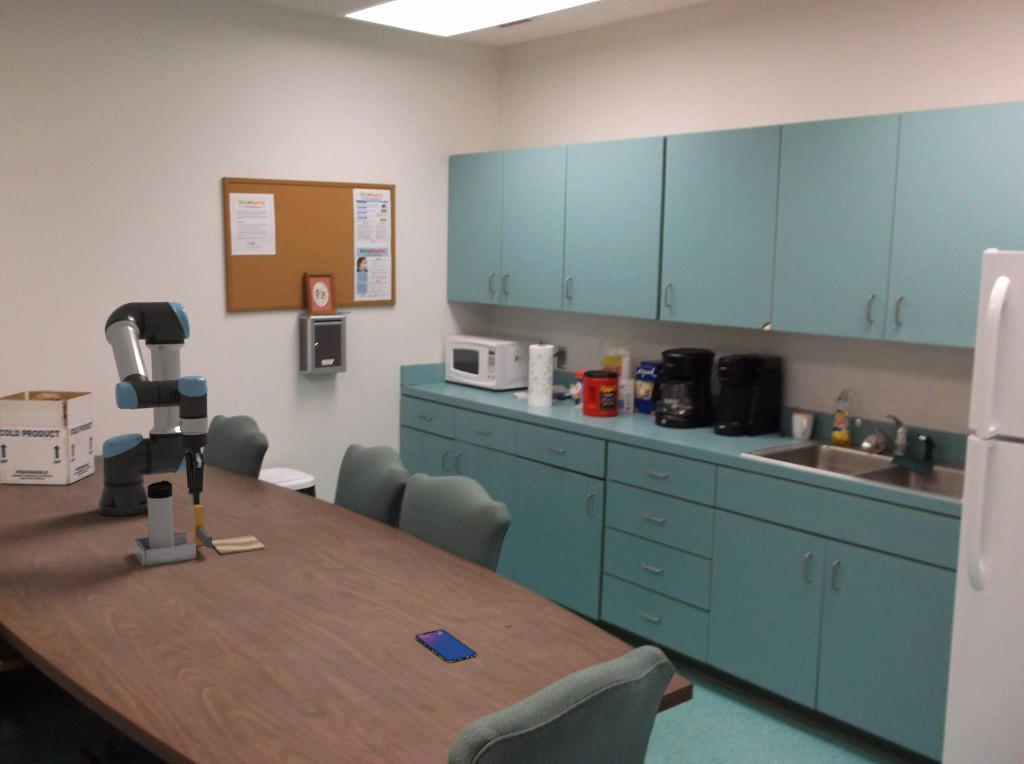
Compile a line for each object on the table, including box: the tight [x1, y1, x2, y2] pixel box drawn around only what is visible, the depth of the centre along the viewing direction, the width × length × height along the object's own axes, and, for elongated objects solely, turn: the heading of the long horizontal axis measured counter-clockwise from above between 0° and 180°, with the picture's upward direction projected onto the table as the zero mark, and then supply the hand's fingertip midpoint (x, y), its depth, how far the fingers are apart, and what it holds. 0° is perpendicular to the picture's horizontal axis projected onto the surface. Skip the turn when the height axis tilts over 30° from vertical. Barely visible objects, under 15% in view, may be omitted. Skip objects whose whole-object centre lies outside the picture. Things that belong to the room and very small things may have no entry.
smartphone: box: [415, 629, 477, 662], centre depth 199 cm, size 7×1×15 cm
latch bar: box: [193, 504, 213, 549], centre depth 257 cm, size 13×2×11 cm, turn 32°
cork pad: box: [212, 534, 266, 556], centre depth 262 cm, size 12×12×1 cm
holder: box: [133, 531, 197, 567], centre depth 252 cm, size 12×14×4 cm
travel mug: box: [146, 480, 175, 549], centre depth 250 cm, size 6×7×20 cm
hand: (195, 514), depth 264 cm, fingers closed
